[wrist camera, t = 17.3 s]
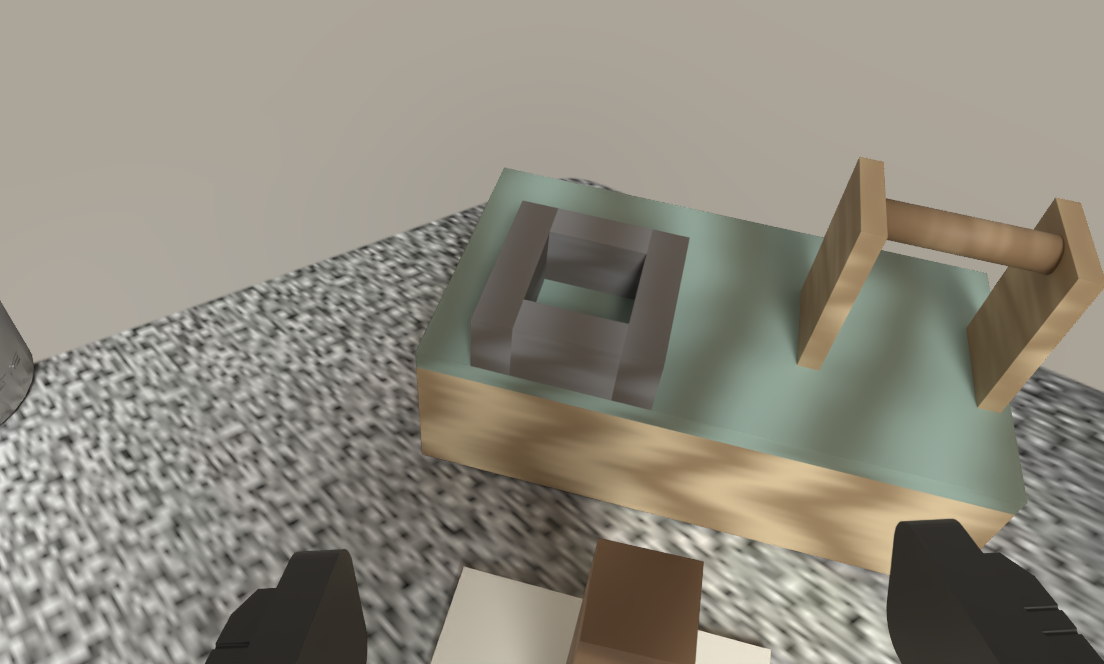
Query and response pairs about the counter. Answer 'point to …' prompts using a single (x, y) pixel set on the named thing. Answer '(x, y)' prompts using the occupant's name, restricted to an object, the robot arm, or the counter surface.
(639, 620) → the walnut key
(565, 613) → the mat
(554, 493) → the counter surface
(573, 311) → the wooden socket fixture
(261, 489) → the counter surface
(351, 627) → the robot arm
